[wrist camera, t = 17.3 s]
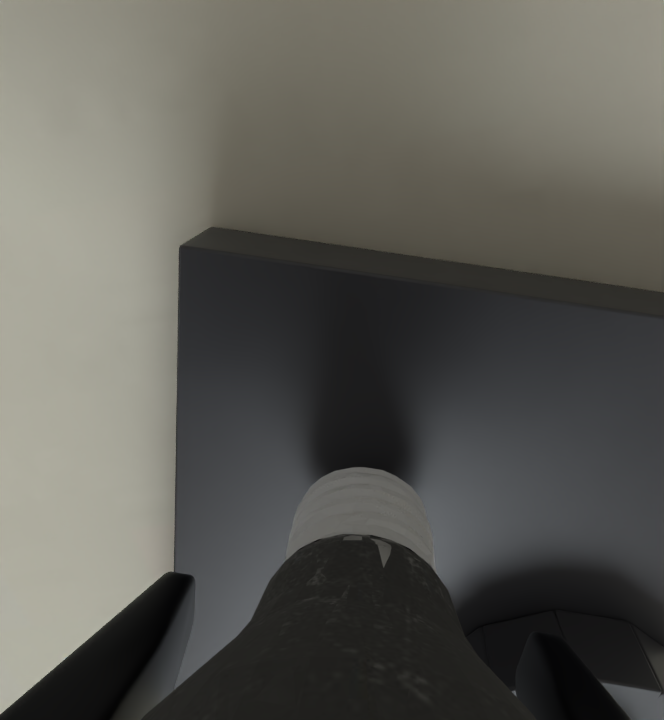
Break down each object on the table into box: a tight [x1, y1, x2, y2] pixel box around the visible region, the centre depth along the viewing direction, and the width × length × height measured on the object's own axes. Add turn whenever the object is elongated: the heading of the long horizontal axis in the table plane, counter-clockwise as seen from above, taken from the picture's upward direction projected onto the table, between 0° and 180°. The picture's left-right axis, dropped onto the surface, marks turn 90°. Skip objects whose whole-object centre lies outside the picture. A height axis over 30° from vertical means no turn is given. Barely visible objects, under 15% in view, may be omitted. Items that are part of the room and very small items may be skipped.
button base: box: [173, 227, 664, 720], centre depth 12 cm, size 12×12×4 cm
